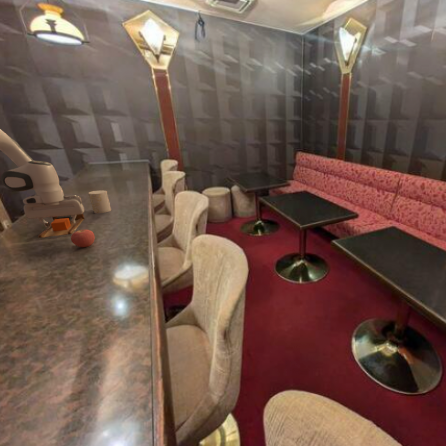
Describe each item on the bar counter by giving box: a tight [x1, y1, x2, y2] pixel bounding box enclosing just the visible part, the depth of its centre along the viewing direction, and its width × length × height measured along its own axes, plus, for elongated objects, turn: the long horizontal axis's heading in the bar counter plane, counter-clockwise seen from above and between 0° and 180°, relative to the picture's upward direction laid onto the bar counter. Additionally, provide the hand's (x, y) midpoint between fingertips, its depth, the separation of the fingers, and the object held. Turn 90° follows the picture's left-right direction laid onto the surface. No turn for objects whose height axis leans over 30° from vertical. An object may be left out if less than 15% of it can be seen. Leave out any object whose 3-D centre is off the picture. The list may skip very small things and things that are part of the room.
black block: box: [57, 215, 73, 224], centre depth 125 cm, size 5×6×4 cm
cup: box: [88, 189, 112, 214], centre depth 143 cm, size 8×8×12 cm
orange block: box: [50, 218, 71, 231], centre depth 118 cm, size 5×6×4 cm
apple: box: [70, 229, 96, 248], centre depth 103 cm, size 7×7×8 cm
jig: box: [37, 212, 85, 239], centre depth 120 cm, size 12×22×4 cm, turn 28°
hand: (60, 224), depth 118 cm, fingers open, 8 cm apart
